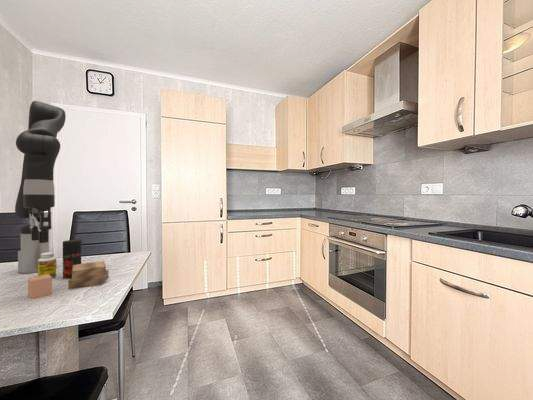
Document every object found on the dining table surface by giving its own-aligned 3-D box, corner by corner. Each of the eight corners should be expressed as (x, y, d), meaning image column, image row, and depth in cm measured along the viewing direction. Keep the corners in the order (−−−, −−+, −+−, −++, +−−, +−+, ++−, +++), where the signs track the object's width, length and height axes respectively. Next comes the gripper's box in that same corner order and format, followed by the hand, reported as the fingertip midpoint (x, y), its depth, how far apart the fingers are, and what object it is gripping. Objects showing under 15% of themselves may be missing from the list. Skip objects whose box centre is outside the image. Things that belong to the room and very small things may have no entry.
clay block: (31, 299, 75) (31, 281, 75) (27, 295, 78) (27, 278, 78) (52, 294, 79) (51, 276, 79) (47, 291, 82) (47, 274, 82)
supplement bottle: (36, 281, 91) (35, 255, 91) (39, 277, 96) (39, 252, 96) (54, 278, 94) (54, 253, 94) (57, 274, 99) (57, 251, 99)
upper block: (72, 280, 83) (72, 271, 83) (73, 273, 91) (73, 265, 91) (105, 275, 90) (105, 266, 90) (104, 269, 97) (104, 260, 97)
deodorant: (84, 275, 99) (84, 240, 99) (68, 279, 93) (68, 242, 93) (75, 273, 101) (75, 239, 101) (59, 278, 95) (59, 241, 95)
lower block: (68, 290, 84) (68, 280, 84) (79, 281, 93) (79, 272, 93) (101, 286, 87) (101, 277, 87) (108, 278, 97) (108, 269, 97)
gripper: (61, 193, 77) (61, 241, 77) (47, 194, 85) (47, 238, 85) (29, 193, 71) (30, 245, 71) (18, 193, 79) (18, 241, 79)
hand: (39, 241), depth 78 cm, fingers open, 8 cm apart
